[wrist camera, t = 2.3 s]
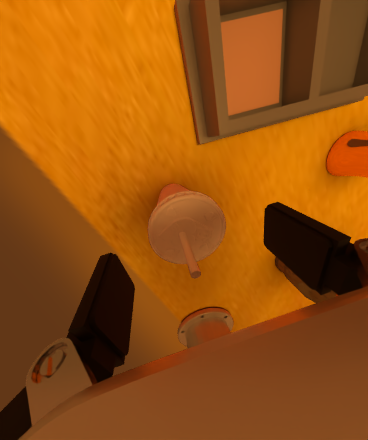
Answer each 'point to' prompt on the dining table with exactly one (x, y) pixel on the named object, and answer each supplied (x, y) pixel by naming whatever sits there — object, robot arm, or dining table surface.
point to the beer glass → (349, 155)
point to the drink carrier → (270, 60)
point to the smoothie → (185, 227)
